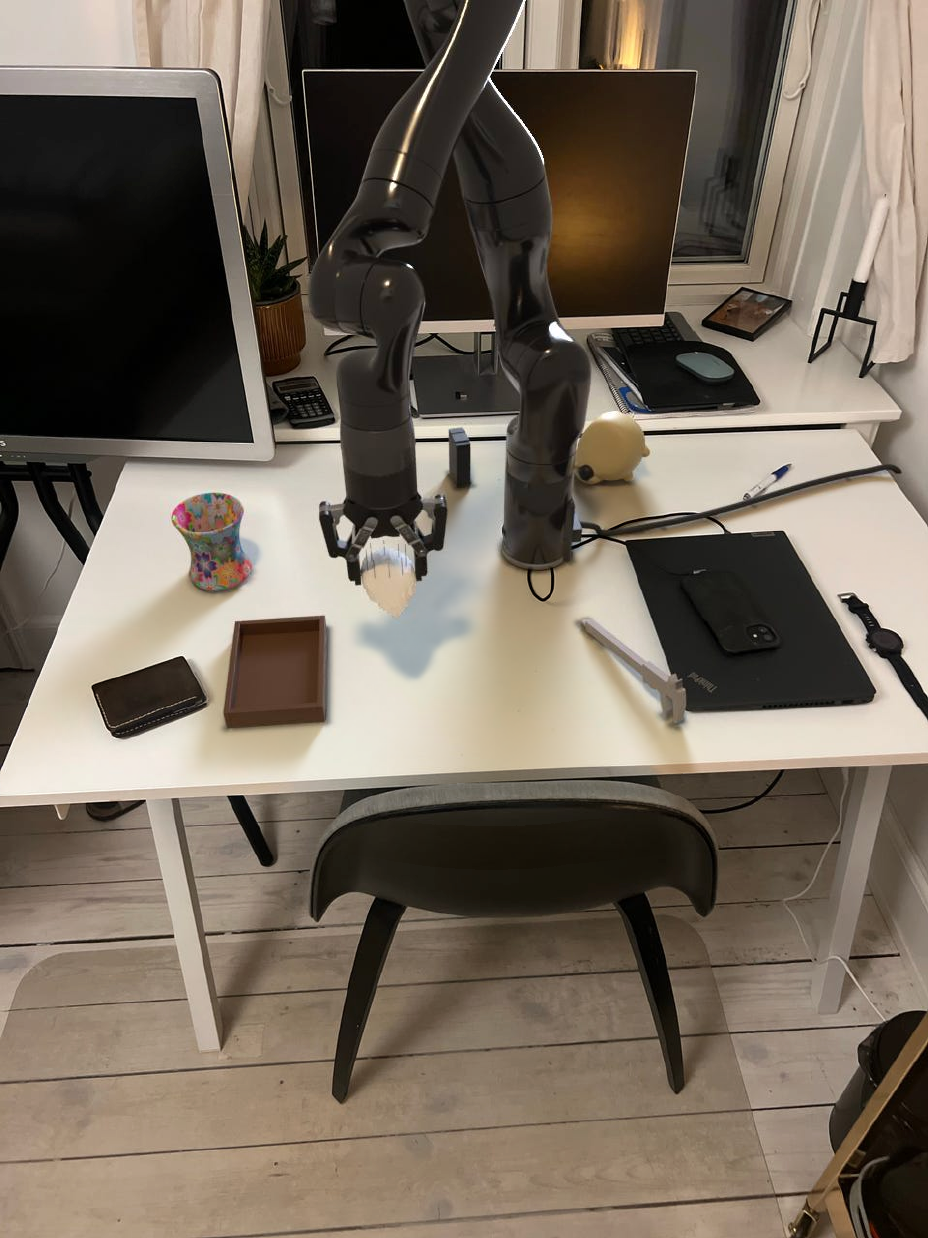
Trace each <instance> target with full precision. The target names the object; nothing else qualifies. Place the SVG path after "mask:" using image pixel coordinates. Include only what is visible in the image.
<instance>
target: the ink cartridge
mask: <svg viewBox="0 0 928 1238" xmlns="http://www.w3.org/2000/svg"><path fill="white" fill-rule="evenodd" d="M471 449H472V448H471V442H470V439H469V437H468V435H467V433H466V431H465V429H464V427H462V426H461V427H454V428H448V470H449V471H448V472H449V474H450V477H451V479H452V481H453V483H454V485H455V488H456V489H457V488H465V487H470V486H471V484H472V481H471V469H472V468H471V459H472V458H471V457H472V456H471V455H472V454H471Z"/></svg>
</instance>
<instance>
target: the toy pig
mask: <svg viewBox="0 0 928 1238" xmlns="http://www.w3.org/2000/svg"><path fill="white" fill-rule="evenodd" d="M650 453H651V450H650V448H649V447H648V446H647V445H646V439H645V434H644V431H643V428H642V427H641V426H640V424H639V423H638V422H637V421H636V420H635V419H634V418H633V417H631V416H630V415H629V414H626V413H624V412H621V411H615V410H613V411H607V412H604V413H601V414H600V415H598V416H597V417H596V418H594V419H593V420H592V421H591V422H590V423H589V425H588V426H587V427H586V428H585V429H584V430H583V432H582V433H581V435H580V437H579V439H578V441H577V448H576V458H575V469H574V475H575V476H576V477H577V479H579V480H580V481H581V482H582V483H584V484H588V485H595V484H598V483H600V482H602V481H619V480H623V481H625V482H631V481H633V478H634V474H633V471H635V469H637V467H638V466H639V465H640V463H641V461H642V458H648V457H649V456H650Z"/></svg>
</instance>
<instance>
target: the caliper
mask: <svg viewBox="0 0 928 1238" xmlns="http://www.w3.org/2000/svg"><path fill="white" fill-rule="evenodd" d="M579 623H580V624H581V625H582V626H583V627H584V629H585V631H586V632H587V633H588V634H590V635H591V636H592V637H593V638H595V639H596V640H597V641H598V642H600V643H601V644H602V645H603V646H605V647H606V648H607V649H608V650H609V651H611V652H612V653H613V654H614V655H616V656H617V657H618V658H620V659H621V660H622V661H623V662H624V663H626V664H627V665H628V666H629V667H631V668H632V669H633V670H634V671H635V672H637V673H638V674H639V675H640V676H641V677H642V683H644V684H646V685H647V686H648V687H649V689H652V690H654V691H657V692H658V693H659V695H660V696H659V697H660V702H661V707H662V710H663V711H662V712H663V714H664V716H665V718H666V717H669V716H671V715H672V723H673V724H678V723H680V722H682V721H683V720H684V717H685V713H686V708H687V691H686V688H684V687H683V678H680V679H679V678H678V676H677V674H676V673H674V674H671V675H669V674H667V673H666V672H665V671H663V670H662V669H661V668H659V667H658V666H657V665H655V664H654V663H653V662H652V661H650V660H648V661H646V659H644V658H643V657H641V656H640V655H639V654H637V653H636V652H635V651H634V650H632V648H630V647H628V645H626V644H625V643H624V642H622V641H621V640H620V639H618V638H617V637H616V636H615V635H613V634H612V633H611V632H609V631H608V630H607V629H606V628H604V627H603V626H602V625H600V624H599V623H598V622H597V621H596V620H594V619H593V618H588V617H587V618H583V619H581V620H579Z"/></svg>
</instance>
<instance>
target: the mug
mask: <svg viewBox="0 0 928 1238" xmlns="http://www.w3.org/2000/svg"><path fill="white" fill-rule="evenodd" d="M244 513H245V509H244V505H243V503H242V502H241V500H240V499H238V498H237V497H235V496H234V495H231V494H228V493H223V492H206V493H200V494H196V495H193V496H191V497H188V498H185V500H182V501H181V502H180V503H179V504H177V505H176V506H175V508H174V509H173V511H172V513H171V522H172V525H173V527H174V528H175V529H176V530H177V531H178V532H179V533H180V534H181V536H182V537H183V539H184V541H185V542H186V545H187V547H188V551H189V554H190V567H189V569H188V578H189V580H190V582H192V584H193V585H195V586H196V587H198V588H200V589H203V590H206V591H224V590H228V589H232V588H235V587H237V586H239V585H240V584H241V583H243V582H244V581H245V580H246V579H247V578H248V577H249V575H250V574H251V571H252V563H251V560H250V558H249V557H248V556H247V555H246V554H245V552H244V550H243V547H242V545H241V539H240V529H241V523H242V519H243V516H244Z"/></svg>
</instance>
